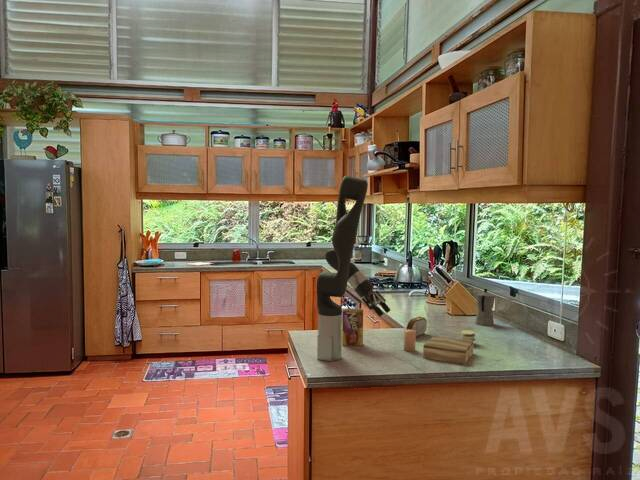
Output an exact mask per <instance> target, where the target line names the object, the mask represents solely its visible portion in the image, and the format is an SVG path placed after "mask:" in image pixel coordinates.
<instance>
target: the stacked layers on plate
mask: <svg viewBox="0 0 640 480" xmlns="http://www.w3.org/2000/svg"><path fill="white" fill-rule="evenodd" d="M460 335H461V340H469V341H473V343H474V342H475V341H476V339H475V336H476V330H475V331H474V330H466V329H465V330H461V334H460Z"/></svg>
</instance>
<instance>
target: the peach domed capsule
mask: <svg viewBox="0 0 640 480" xmlns="http://www.w3.org/2000/svg"><path fill="white" fill-rule="evenodd" d="M403 332H404V334H403V337H404V338H403V351H405V352H415V351H416V338H417V337H416V331H415V330H410V329H408V330H407V329H405V330H404V331H403Z"/></svg>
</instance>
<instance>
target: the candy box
mask: <svg viewBox="0 0 640 480" xmlns="http://www.w3.org/2000/svg"><path fill="white" fill-rule="evenodd" d="M342 346H364V309H363V308H359V307H358V308H353V307H350V308H345V307H344V308H343V307H342Z"/></svg>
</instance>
